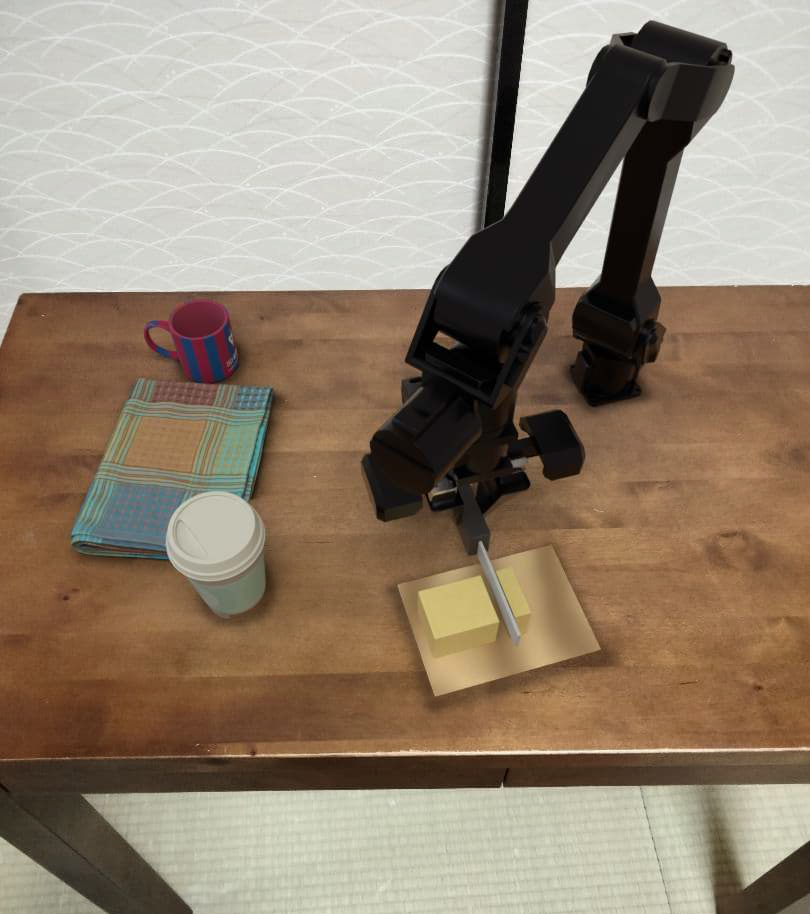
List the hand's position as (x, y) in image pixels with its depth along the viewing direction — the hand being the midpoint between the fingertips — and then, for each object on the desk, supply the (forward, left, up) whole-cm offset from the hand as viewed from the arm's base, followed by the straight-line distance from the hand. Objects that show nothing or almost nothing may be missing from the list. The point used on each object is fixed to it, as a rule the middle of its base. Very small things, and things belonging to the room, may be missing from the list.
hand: (467, 518), depth 77 cm
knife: (0, +5, -1) cm, 5 cm away
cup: (+22, -34, -6) cm, 41 cm away
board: (0, +9, -6) cm, 10 cm away
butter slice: (-1, +9, -4) cm, 10 cm away
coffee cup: (+23, -2, -6) cm, 24 cm away
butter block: (+4, +9, -4) cm, 10 cm away
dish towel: (+26, -18, -6) cm, 32 cm away
